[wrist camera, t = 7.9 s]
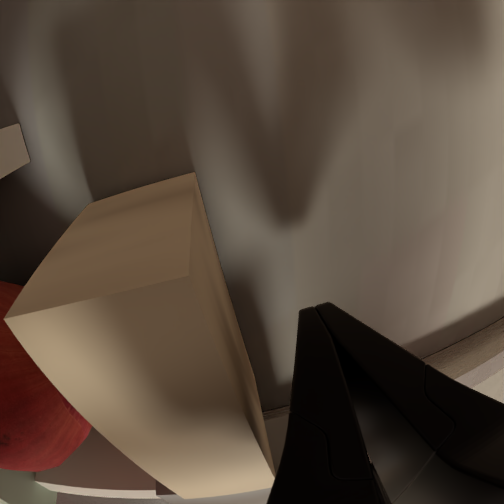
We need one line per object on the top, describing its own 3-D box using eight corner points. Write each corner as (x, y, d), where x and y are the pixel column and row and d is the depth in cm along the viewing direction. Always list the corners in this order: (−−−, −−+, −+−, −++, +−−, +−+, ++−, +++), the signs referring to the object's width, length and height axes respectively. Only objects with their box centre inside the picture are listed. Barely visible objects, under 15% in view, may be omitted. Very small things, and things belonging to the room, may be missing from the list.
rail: (537, 314, 15) (553, 330, 14) (100, 452, 14) (97, 480, 13) (548, 288, 14) (565, 304, 13) (78, 433, 13) (73, 463, 11)
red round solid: (62, 454, 3) (-110, 453, 2) (166, 456, 8) (0, 477, 7) (46, 201, 7) (-103, 291, 5) (124, 305, 11) (-16, 353, 10)
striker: (292, 430, 14) (315, 508, 10) (199, 448, 14) (207, 527, 10) (234, 162, 8) (274, 254, 4) (58, 214, 8) (-31, 327, 3)
